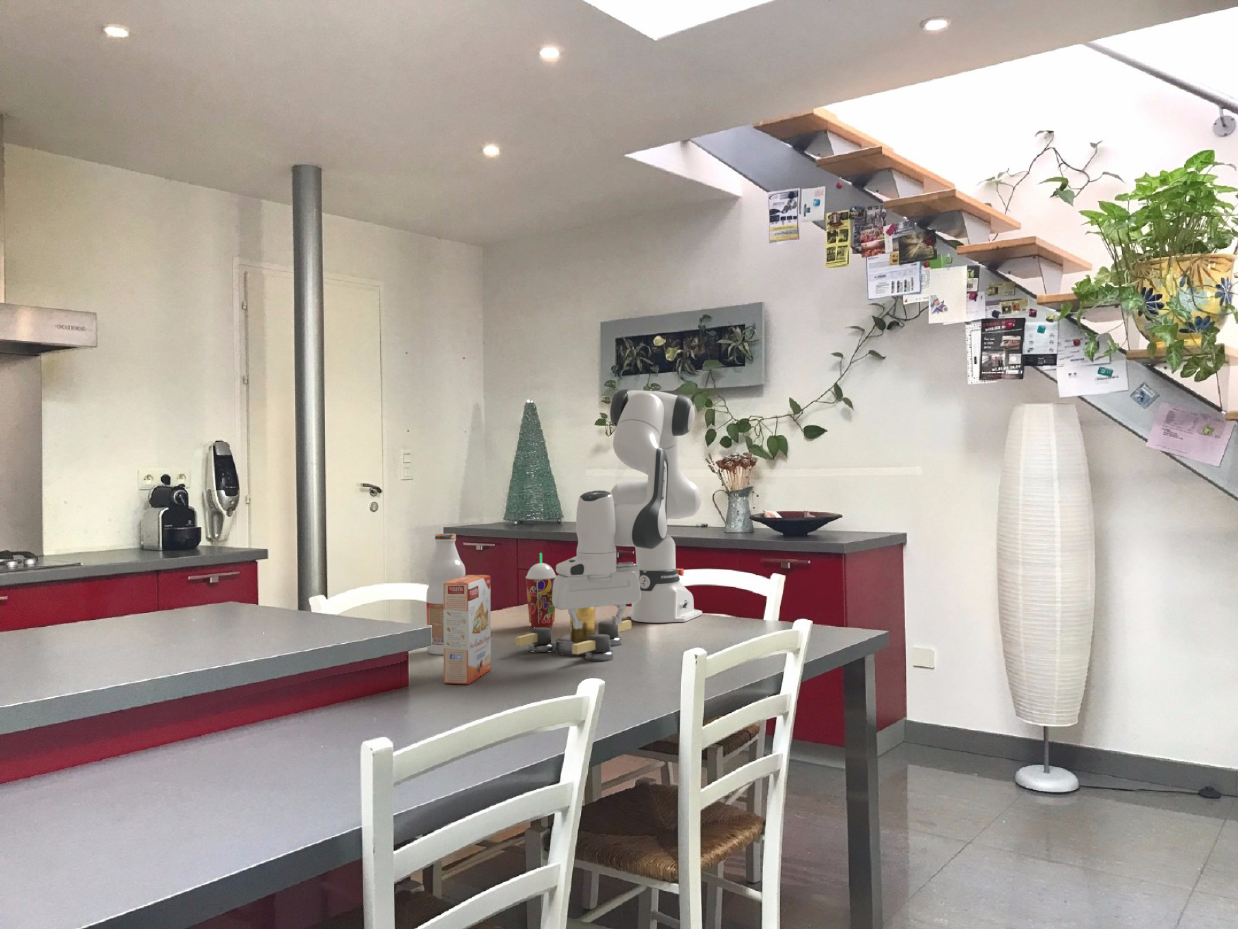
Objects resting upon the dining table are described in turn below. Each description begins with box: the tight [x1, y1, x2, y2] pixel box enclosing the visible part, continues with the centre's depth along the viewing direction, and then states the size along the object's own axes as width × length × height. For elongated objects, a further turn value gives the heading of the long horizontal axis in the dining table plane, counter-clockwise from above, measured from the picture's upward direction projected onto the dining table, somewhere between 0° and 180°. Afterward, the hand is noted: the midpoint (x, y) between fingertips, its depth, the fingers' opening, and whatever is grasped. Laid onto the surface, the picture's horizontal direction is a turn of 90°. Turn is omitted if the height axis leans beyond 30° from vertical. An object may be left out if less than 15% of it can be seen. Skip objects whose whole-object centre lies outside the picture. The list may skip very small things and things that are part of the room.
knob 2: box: [572, 633, 611, 654], centre depth 222 cm, size 11×5×3 cm, turn 143°
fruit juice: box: [425, 533, 466, 656], centre depth 235 cm, size 9×9×28 cm
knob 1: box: [514, 627, 552, 647], centre depth 232 cm, size 11×5×3 cm, turn 146°
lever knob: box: [597, 619, 632, 638], centre depth 244 cm, size 11×5×3 cm, turn 144°
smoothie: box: [525, 552, 557, 628], centre depth 267 cm, size 8×8×20 cm
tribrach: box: [527, 607, 622, 662], centre depth 236 cm, size 21×24×14 cm
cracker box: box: [443, 574, 492, 685], centre depth 207 cm, size 14×6×21 cm, turn 168°
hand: (597, 626), depth 220 cm, fingers open, 8 cm apart
